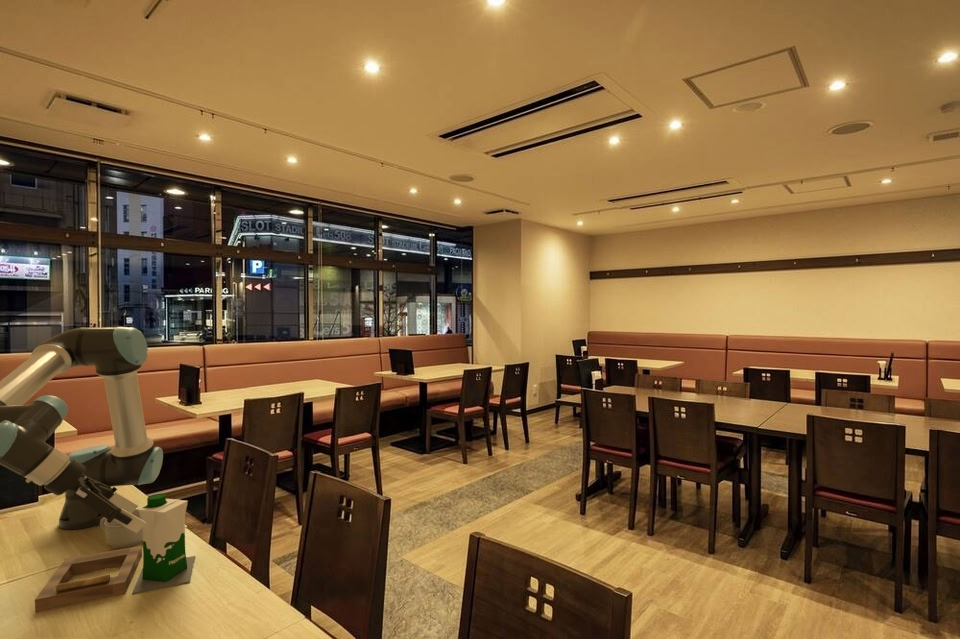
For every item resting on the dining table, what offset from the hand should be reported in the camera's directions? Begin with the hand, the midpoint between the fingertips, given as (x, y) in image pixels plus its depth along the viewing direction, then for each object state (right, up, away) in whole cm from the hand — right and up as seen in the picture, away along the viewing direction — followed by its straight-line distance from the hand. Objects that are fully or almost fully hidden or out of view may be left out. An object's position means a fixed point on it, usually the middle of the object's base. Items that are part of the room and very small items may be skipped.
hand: (137, 518), depth 124 cm
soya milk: (+4, -16, +4) cm, 17 cm away
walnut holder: (-12, -17, +1) cm, 20 cm away
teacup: (-19, -16, +22) cm, 34 cm away
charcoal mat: (+4, -16, +4) cm, 17 cm away
